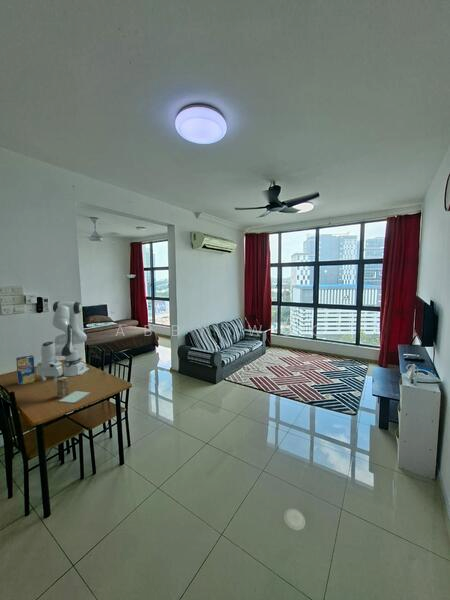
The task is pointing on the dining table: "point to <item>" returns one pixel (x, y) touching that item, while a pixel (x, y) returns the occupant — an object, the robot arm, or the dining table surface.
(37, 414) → the dining table surface
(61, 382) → the block
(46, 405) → the dining table surface
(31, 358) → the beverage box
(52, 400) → the dining table surface
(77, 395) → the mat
